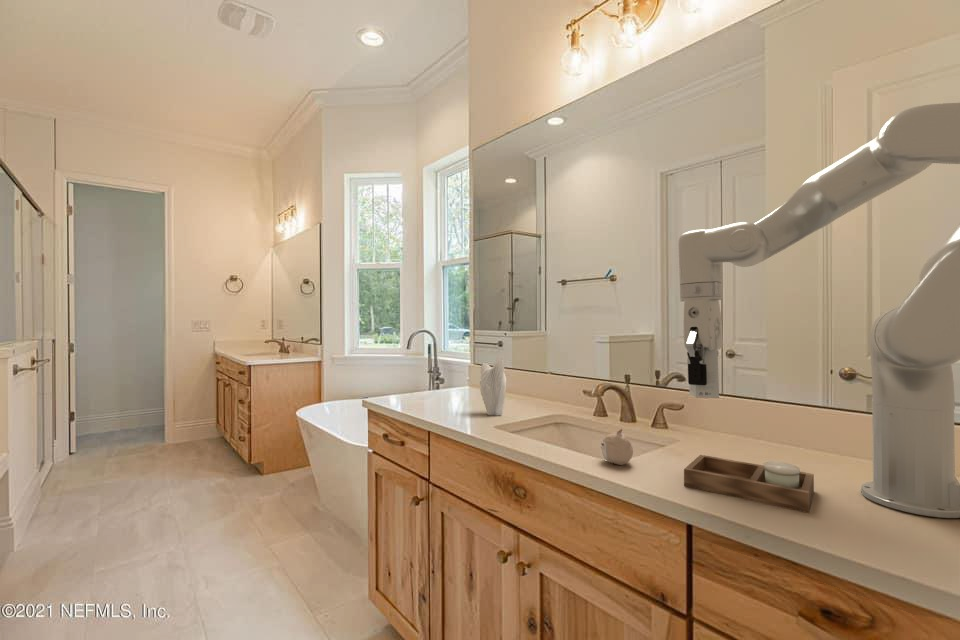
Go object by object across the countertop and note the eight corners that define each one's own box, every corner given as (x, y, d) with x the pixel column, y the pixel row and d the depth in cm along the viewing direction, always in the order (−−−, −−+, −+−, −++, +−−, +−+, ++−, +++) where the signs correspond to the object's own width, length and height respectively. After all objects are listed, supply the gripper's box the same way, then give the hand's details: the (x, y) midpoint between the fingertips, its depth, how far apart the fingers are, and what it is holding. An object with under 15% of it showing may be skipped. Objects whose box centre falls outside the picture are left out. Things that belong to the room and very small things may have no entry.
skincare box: (720, 398, 86) (717, 335, 86) (695, 398, 87) (693, 336, 87) (711, 393, 92) (709, 335, 92) (689, 393, 93) (687, 335, 93)
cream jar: (801, 491, 76) (801, 465, 76) (798, 500, 72) (798, 473, 72) (766, 484, 79) (766, 459, 79) (762, 492, 75) (761, 467, 75)
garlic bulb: (597, 465, 92) (596, 426, 92) (605, 456, 98) (605, 420, 98) (630, 470, 89) (629, 429, 89) (637, 461, 95) (636, 423, 95)
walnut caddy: (813, 491, 77) (813, 474, 77) (808, 512, 69) (808, 493, 69) (700, 469, 89) (700, 454, 89) (684, 485, 80) (683, 469, 80)
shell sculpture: (481, 412, 147) (480, 357, 147) (506, 412, 146) (505, 357, 146) (480, 417, 139) (479, 359, 139) (506, 417, 138) (506, 359, 138)
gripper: (708, 290, 81) (712, 389, 80) (732, 293, 94) (735, 379, 93) (665, 292, 86) (668, 386, 85) (694, 295, 99) (696, 377, 98)
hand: (703, 381), depth 89 cm, fingers closed on skincare box, 7 cm apart
